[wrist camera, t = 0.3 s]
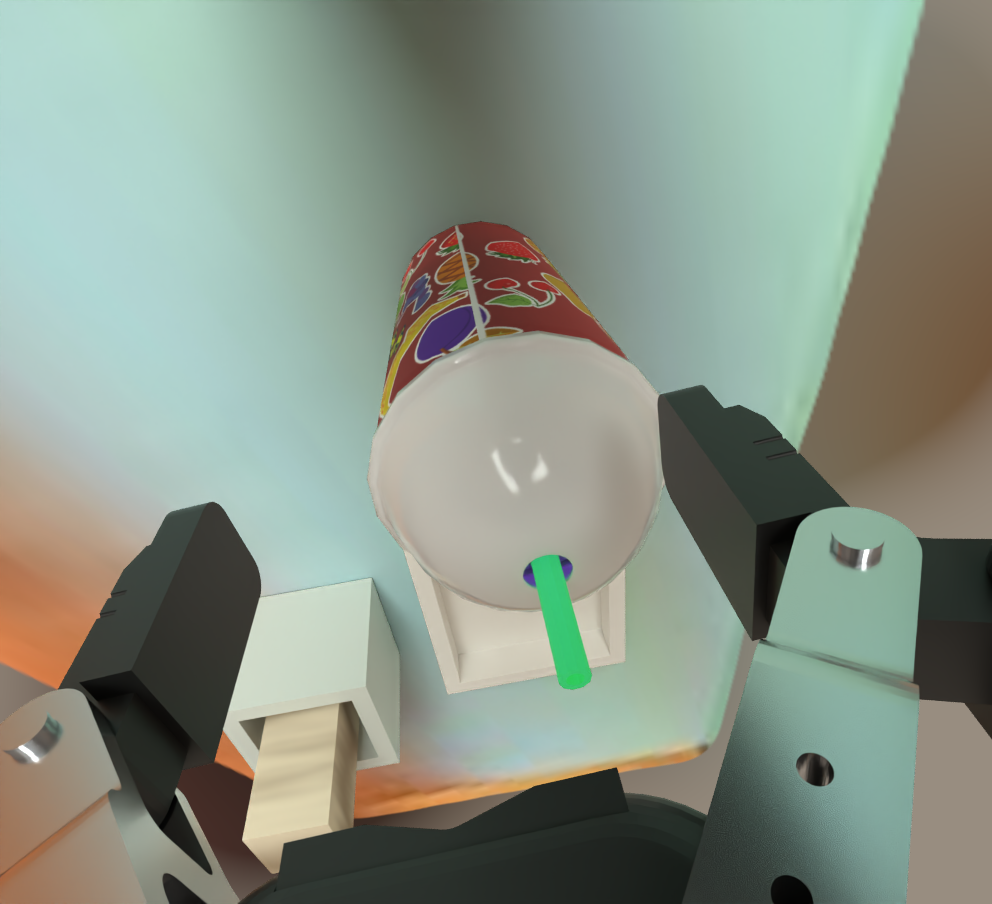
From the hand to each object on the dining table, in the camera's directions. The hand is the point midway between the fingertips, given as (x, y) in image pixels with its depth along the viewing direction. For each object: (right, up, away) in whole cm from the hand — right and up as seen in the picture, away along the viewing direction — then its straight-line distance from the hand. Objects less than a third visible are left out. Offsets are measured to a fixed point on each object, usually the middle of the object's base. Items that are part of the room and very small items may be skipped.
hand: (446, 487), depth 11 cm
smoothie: (0, +8, +17) cm, 19 cm away
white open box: (-10, -11, +29) cm, 33 cm away
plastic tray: (+2, -7, +28) cm, 29 cm away
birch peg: (-10, -12, +28) cm, 32 cm away
